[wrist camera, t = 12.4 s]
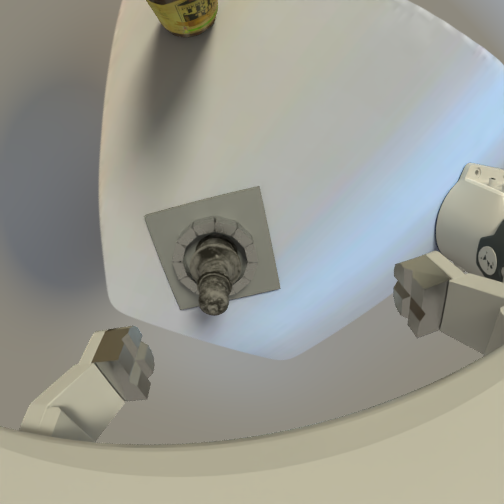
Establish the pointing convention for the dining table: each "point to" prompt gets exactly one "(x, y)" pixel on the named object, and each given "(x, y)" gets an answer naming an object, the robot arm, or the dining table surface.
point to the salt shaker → (215, 272)
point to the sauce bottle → (185, 15)
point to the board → (228, 206)
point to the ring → (218, 226)
